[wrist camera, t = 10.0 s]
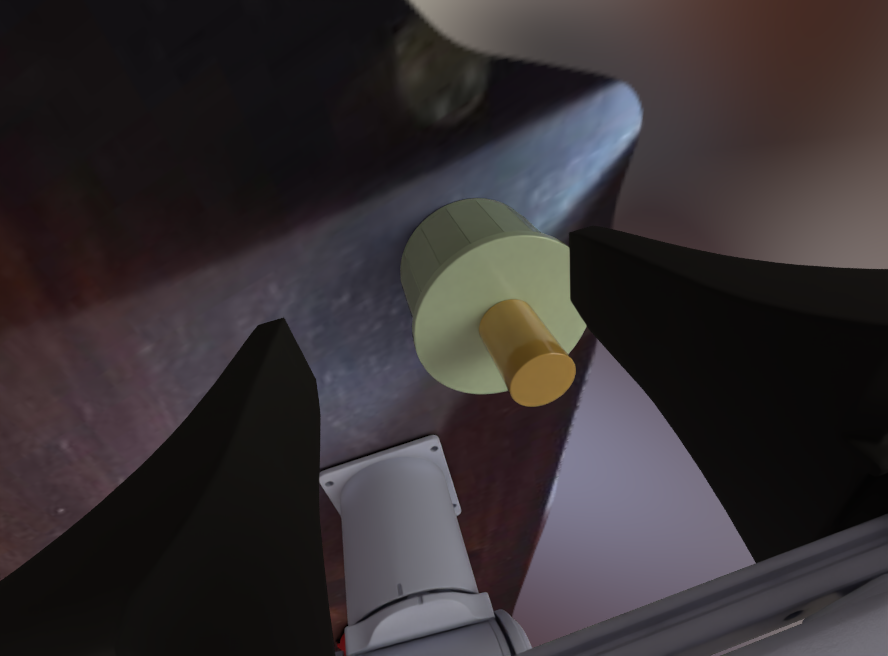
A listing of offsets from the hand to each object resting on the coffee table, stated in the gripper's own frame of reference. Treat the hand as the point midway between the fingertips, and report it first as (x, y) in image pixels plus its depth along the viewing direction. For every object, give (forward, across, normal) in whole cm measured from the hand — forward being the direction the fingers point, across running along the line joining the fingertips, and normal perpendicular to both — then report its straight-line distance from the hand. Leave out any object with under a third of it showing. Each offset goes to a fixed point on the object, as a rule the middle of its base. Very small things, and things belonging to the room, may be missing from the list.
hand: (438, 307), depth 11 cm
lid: (+5, -3, +5) cm, 8 cm away
